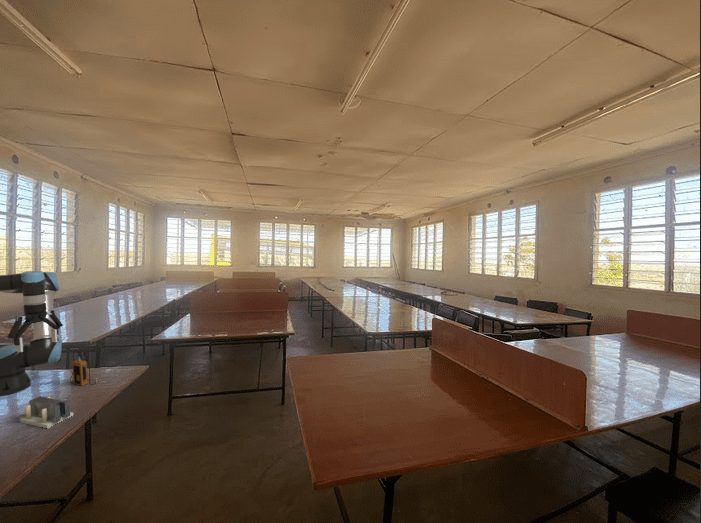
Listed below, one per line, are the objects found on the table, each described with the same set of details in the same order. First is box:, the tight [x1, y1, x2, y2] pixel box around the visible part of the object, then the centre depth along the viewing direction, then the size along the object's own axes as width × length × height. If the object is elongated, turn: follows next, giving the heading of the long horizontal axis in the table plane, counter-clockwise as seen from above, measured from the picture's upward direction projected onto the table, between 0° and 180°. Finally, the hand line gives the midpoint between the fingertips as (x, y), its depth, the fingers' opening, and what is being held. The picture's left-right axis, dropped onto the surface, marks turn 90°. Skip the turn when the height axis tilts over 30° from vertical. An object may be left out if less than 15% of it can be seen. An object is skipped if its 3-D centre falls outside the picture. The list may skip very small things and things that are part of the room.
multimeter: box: [69, 349, 98, 387], centre depth 174 cm, size 15×10×20 cm
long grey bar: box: [28, 396, 71, 423], centre depth 138 cm, size 17×6×7 cm, turn 76°
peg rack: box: [19, 396, 74, 430], centre depth 139 cm, size 17×10×8 cm, turn 76°
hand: (38, 346), depth 149 cm, fingers open, 13 cm apart
